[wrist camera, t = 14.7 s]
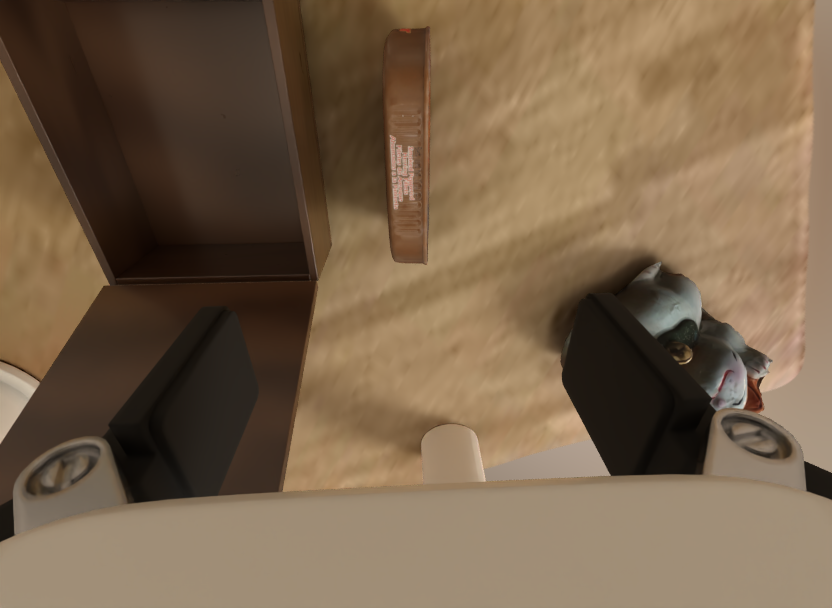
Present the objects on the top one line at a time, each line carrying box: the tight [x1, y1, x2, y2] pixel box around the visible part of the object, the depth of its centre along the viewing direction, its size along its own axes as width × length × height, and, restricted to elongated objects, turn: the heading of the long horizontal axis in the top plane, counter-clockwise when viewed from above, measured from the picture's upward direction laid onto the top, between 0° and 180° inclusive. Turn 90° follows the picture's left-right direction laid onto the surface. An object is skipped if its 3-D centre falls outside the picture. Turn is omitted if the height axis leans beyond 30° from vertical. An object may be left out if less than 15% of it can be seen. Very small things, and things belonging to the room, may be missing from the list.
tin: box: [383, 26, 431, 265], centre depth 27 cm, size 15×3×8 cm, turn 0°
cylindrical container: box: [421, 424, 486, 484], centre depth 38 cm, size 7×7×25 cm
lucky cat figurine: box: [561, 262, 773, 413], centre depth 35 cm, size 15×12×14 cm
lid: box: [0, 281, 318, 505], centre depth 22 cm, size 18×15×1 cm
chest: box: [0, 0, 332, 286], centre depth 27 cm, size 18×15×7 cm
